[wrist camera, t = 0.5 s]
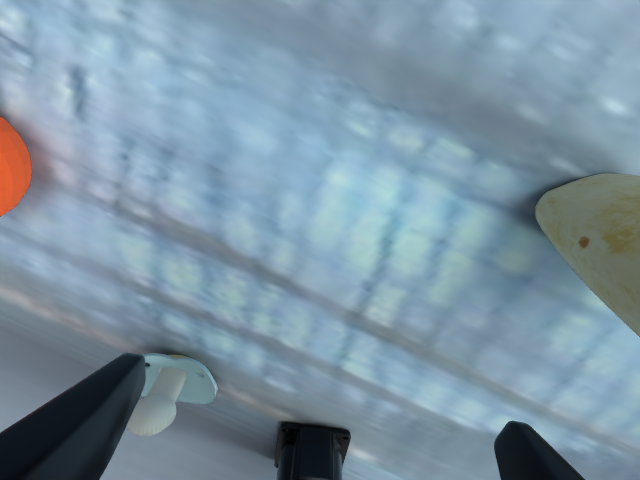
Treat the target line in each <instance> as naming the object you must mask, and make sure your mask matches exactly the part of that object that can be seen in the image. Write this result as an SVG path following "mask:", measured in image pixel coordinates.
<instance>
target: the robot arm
mask: <svg viewBox="0 0 640 480" xmlns="http://www.w3.org/2000/svg"><path fill="white" fill-rule="evenodd" d="M145 382H146V369H145V358H144V356H143V355H139V354H133V353H125V354H123V355H121V356H119V357H118V358H116V359H115V360H113V361H112V362H110V363H108V364H107V365H105V366H104V367H102V368H101V369H99V370H97V371H96V372H94V373H93V374H91V375H90V376H88V377H87V378H85V379H83V380H82V381H80V382H79V383H77V384H76V385H74V386H73V387H71V388H69V389H68V390H66V391H65V392H63V393H62V394H60V395H59V396H57V397H55V398H54V399H52V400H51V401H49V402H48V403H46V404H44V405H43V406H41V407H40V408H38V409H37V410H35V411H34V412H32V413H30V414H29V415H27V416H26V417H24V418H23V419H21V420H20V421H18V422H16V423H15V424H13V425H12V426H10V427H9V428H7V429H5V430H4V431H2V432H1V433H0V480H99V479H100V477H101V476H102V474H103V472H104V470H105V469H106V467H107V465H108V463H109V461H110V460H111V458H112V456H113V454H114V451H115V449H116V447H117V445H118V443H119V441H120V439H121V437H122V434H123V432H124V430H125V428H126V426H127V424H128V421H129V419H130V417H131V415H132V413H133V411H134V408H135V406H136V404H137V402H138V400H139V398H140V395H141V393H142V391H143V389H144V386H145ZM350 439H351V434H350V432H349V431H347V430H339V429H331V428H323V427H315V426H307V425H299V424H291V423H281V424H280V427H279V434H278V441H277V449H276V456H275V463H274V466H275V467H276V468H278V473H277V480H342V466H343V463H344V459H345V456H346V453H347V449H348V446H349V443H350ZM494 450H495V455H496V459H497V464H498V468H499V473H500V477H501V480H585V479H584V478H583V477H582V476H581V475H580V474H579V473H578V472H577V471H576V470H575V469H574V468H573V467H572V466H571V465H570V464H569V463H568V462H567V461H566V460H565V459H564V458H563V457H562V456H561V455H559V454H558V453H557V452H556V451H555V450H554V449H553V448H552V447H551V446H550V445H549V444H548V443H547V442H546V441H545V440H544V439H543V438H542V437H541V436H540V435H539V434H538V433H537V432H536V431H535V430H534V429H533V428H532V427H531V426H529V425H528V424H526V423H522V422H517V421H509V422H508V423H507V424H506V425H505V427H504V428H503V429H502V431H501V432H500V434H499V435H498V436H497V438H496V439H495V443H494Z"/></svg>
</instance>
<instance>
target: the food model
mask: <svg viewBox="0 0 640 480" xmlns="http://www.w3.org/2000/svg"><path fill="white" fill-rule="evenodd" d="M535 212H536V219H537V221H538V223H539V225H540V227H541V229H542V231H543V232H544V233H545V235H546V236H547V238H548V239H549V240H550V242H551V243H552V244H553V246H554V247H555V248H556V250H557V251H558V252H559V253H560V255H561V256H562V257H563V258H564V260H565V261H566V262H567V263H568V264H569V266H570V267H571V268H572V269H573V270H574V272H575V273H576V274H577V275H578V276H579V277H580V279H581V280H582V281H583V282H584V283H585V284H586V285H587V286H588V287H589V288H590V289H591V290H592V291H593V292H594V293H595V294H596V295H597V296H598V297H599V298H600V299H601V300H602V301H603V302H604V303H605V304H606V305H607V306H608V307H609V308H610V309H611V310H612V311H613V312H614V313H615V314H616V315H617V316H618V317H619V318H620V319H621V320H622V321H623V322H624V323H625V324H626V325H627V326H628V327H629V328H630V329H631V330H632V331H634V332H635V333H636V334H637V335H638V336H639V337H640V176H636V175H626V174H614V173H601V174H597V175H593V176H589V177H584V178H582V179H579V180H576V181H573V182H571V183H568V184H565V185H563V186H560V187H557V188H555V189H552V190H550V191H547V192H546V193H545V194H544V195H543V196H542V197H541V199H540V200H539V202H538V203H537V205H536V206H535Z"/></svg>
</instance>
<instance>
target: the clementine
mask: <svg viewBox="0 0 640 480" xmlns="http://www.w3.org/2000/svg"><path fill="white" fill-rule="evenodd" d="M31 175H32V167H31V159H30V155H29V152H28V149H27V147H26V144H25V143H24V141H23V140H22V138H21V137H20V135H19V133H18V132H17V131H16V130H15V129H14V128H13V127H12V126H11V125H10V124H9V122H7V121H6V120H5V119H3V118H2V117H1V116H0V217H1V216H2V215H4V214H5V213H7V212H8V211H10V210H11V209H13V208H14V207H16V206H17V204H18V203H19V202H20V200H21V199H22V197H23V196H24V194H25V193H26V191H27V189H28V188H29V186H30V180H31Z"/></svg>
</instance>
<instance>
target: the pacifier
mask: <svg viewBox="0 0 640 480" xmlns="http://www.w3.org/2000/svg"><path fill="white" fill-rule="evenodd" d="M143 356H144V358H145V363H149V364H150V366H148V367H145V369H146V382H145V386H144V389H143V391H142V393H141V395H140V396H143V397H145V398H143V399H142V400H140V401H139V402H138V403H137V404H136V406H135V408H134V411H133V413H132V415H131V417H130V419H129V421H128V424H127V428H128V430H129V431H130V432H131V433H132V434H134V435H137V436H150V435H154V434H157V433H159V432H161V431H163V430H164V429H166V428H167V427H168V426H169V425H170V424H171V423H172V422H173V420H174V419H175V417H176V405H175V402H176V401H179V402H187V403H196V404H209V403H210V402H212V401H213V400H214V398H215V395H216V393H217V389H218V387H217V384H216V382H215V380H214V378H213V376H212V375H211V373H210V372H209V370H208V369H207V368H206V367H205V366H204V365H203V364H202V363H200V362H199V361H197V360H195V359H192V358H190V357H187V356H183V355H164V354H159V353H148V354H143Z"/></svg>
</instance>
